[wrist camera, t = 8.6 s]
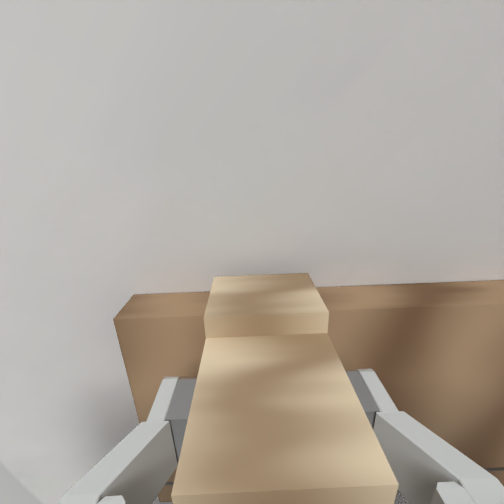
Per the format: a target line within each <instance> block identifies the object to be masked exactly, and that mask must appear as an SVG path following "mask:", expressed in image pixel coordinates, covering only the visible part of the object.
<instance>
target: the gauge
mask: <svg viewBox="0 0 504 504" xmlns="http://www.w3.org/2000/svg"><path fill="white" fill-rule="evenodd" d="M328 320H329V311H328V309H327V307H326V306H325V304H324V302H323V300H322V298H321V296H320V295H319V293H318V291H317V289H316V287H315V285H314V284H313V282H312V280H311V278H310V276H309V274H308V273H297V274H273V275H248V276H224V277H214V280H213V284H212V287H211V291H210V295H209V299H208V302H207V306H206V310H205V314H204V326H205V335H206V340H205V345H204V349H203V354H202V358H201V363H200V367H199V372H198V376H197V381H196V385H195V390H194V394H193V399H192V403H191V408H190V412H189V417H188V421H187V426H186V430H185V435H184V439H183V444H182V448H181V453H180V457H179V462H178V466H177V471H176V475H175V480H174V484H173V489H172V493H171V498H172V503H173V504H394V502H395V498H396V494H397V490H398V486H399V484H398V482H397V480H396V477H395V475H394V473H393V471H392V469H391V467H390V465H389V463H388V460H387V458H386V456H385V454H384V452H383V450H382V448H381V446H380V443H379V441H378V439H377V437H376V435H375V433H374V431H373V429H372V426H371V424H370V422H369V420H368V418H367V416H366V414H365V412H364V410H363V407H362V405H361V403H360V401H359V399H358V397H357V395H356V393H355V390H354V388H353V386H352V384H351V382H350V380H349V378H348V376H347V373H346V371H345V369H344V367H343V365H342V363H341V361H340V359H339V356H338V354H337V352H336V350H335V348H334V346H333V344H332V342H331V339H330V337H329V335H328Z"/></svg>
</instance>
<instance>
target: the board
mask: <svg viewBox="0 0 504 504" xmlns="http://www.w3.org/2000/svg"><path fill="white" fill-rule="evenodd" d="M316 289H317V291H318V293H319V295H320V296H321V298H322V300H323V302H324V304H325V306H326V307H327V309H328V311H329V320H328V335H329V337H330V339H331V342H332V344H333V346H334V348H335V350H336V352H337V354H338V356H339V359H340V361H341V363H342V365H343V367H344V369H345V370H352V369H355V370H356V369H372V370H374V371H375V373H376V375H377V376H378V378H379V380H380V381H381V383H382V384H383V386H384V388H385V389H386V391H387V393H388V394H389V396H390V398H391V399H392V401H393V402H394V404H395V406H396V407H397V409H398V411H404V412H405V413H407V414H408V415H410V416H411V417H412V418H414V419H415V420H417V421H418V422H419V423H421V424H422V425H424V426H425V427H426V428H428V429H429V430H430V431H432V432H433V433H435V434H436V435H437V436H439V437H440V438H442V439H443V440H444V441H446V442H447V443H449V444H450V445H451V446H453V447H454V448H456V449H457V450H458V451H460V452H461V453H463V454H464V455H465V456H467V457H468V458H469V459H471V460H472V461H474V462H475V463H476V464H478V465H479V466H481V467H482V468H483V469H485V470H486V471H488V472H489V473H490V474H492V475H493V476H495V477H496V478H497V479H498V480H499V481H500V483H501V484H502V485H503V486H504V280H491V281H466V282H441V283H416V284H391V285H365V286H340V287H316ZM209 295H210V292H190V293H165V294H140V295H133V296H132V297H131V299H130V300H129V301H128V302H127V303H126V305H125V306H124V307H123V308H122V309H121V311H120V312H119V313H118V314H117V315H116V317H115V318H114V319H113V321H114V325H115V328H116V332H117V336H118V340H119V344H120V348H121V352H122V356H123V360H124V364H125V368H126V372H127V375H128V379H129V383H130V387H131V391H132V395H133V399H134V403H135V407H136V411H137V415H138V419H139V422H140V423H141V422H146V421H147V418H148V415H149V413H150V410H151V408H152V405H153V403H154V400H155V397H156V395H157V392H158V390H159V387H160V385H161V382H162V380H163V379H164V378H165V377H172V376H198V372H199V367H200V363H201V358H202V354H203V349H204V345H205V340H206V335H205V326H204V314H205V310H206V306H207V302H208V299H209ZM176 471H177V468H176V469H175V470H174V472H173V473H172V475H171V476H170V478H169V479H168V481H167V482H166V484H165V485H164V486H163V488H162V489H161V491H160V492H159V494H158V497H159V501H160V502H171V501H172V498H171V493H172V489H173V484H174V480H175V475H176ZM397 492H398V490H397Z"/></svg>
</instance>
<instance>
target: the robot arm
mask: <svg viewBox="0 0 504 504" xmlns="http://www.w3.org/2000/svg"><path fill="white" fill-rule="evenodd" d="M345 371H346V373H347V376H348V378H349V380H350V382H351V384H352V386H353V388H354V390H355V393H356V395H357V397H358V399H359V401H360V403H361V405H362V407H363V410H364V412H365V414H366V416H367V418H368V420H369V422H370V424H371V426H372V429H373V431H374V433H375V435H376V437H377V439H378V441H379V443H380V446H381V448H382V450H383V452H384V454H385V456H386V458H387V460H388V463H389V465H390V467H391V469H392V471H393V473H394V475H395V477H396V480H397V482H398V484H399V486H398V491H399V492H400V493H401V494H402V495H403V496H404V497H405V499H406V500H407V501H408V502H409V503H410V504H504V486H503V485H502V484H501V483H500V481H499V480H498V479H497V478H496V477H495V476H493V475H492V474H490V473H489V472H488V471H486V470H485V469H483V468H482V467H481V466H479V465H478V464H476V463H475V462H474V461H472V460H471V459H469V458H468V457H467V456H465V455H464V454H463V453H461V452H460V451H458V450H457V449H456V448H454V447H453V446H451V445H450V444H449V443H447V442H446V441H444V440H443V439H442V438H440V437H439V436H437V435H436V434H435V433H433V432H432V431H430V430H429V429H428V428H426V427H425V426H424V425H422V424H421V423H419V422H418V421H417V420H415V419H414V418H412V417H411V416H410V415H408V414H407V413H405V412H404V411H398V409H397V407H396V406H395V404H394V402H393V401H392V399H391V398H390V396H389V394H388V393H387V391H386V389H385V388H384V386H383V384H382V383H381V381H380V380H379V378H378V376H377V375H376V373H375V371H374V370H372V369H356V370H355V369H352V370H345ZM196 381H197V376H172V377H165V378H164V379H163V380H162V382H161V385H160V387H159V390H158V392H157V395H156V397H155V400H154V403H153V405H152V408H151V410H150V413H149V415H148V418H147V421H146V422H141V423H140V424H139V425H138V426H137V427H135V428H134V429H133V430H132V431H131V432H130V433H129V434H128V435H127V436H126V437H125V438H124V439H123V440H122V441H120V442H119V443H118V444H117V445H116V446H115V447H114V448H113V449H112V450H111V451H110V452H109V453H108V454H107V455H106V456H104V457H103V458H102V459H101V460H100V461H99V462H98V463H97V464H96V465H95V466H94V467H93V468H92V469H91V470H90V471H88V472H87V473H86V474H85V475H84V476H83V477H82V478H81V479H80V480H79V481H78V482H77V483H76V484H75V485H74V486H72V487H71V488H70V489H69V490H68V491H67V492H66V493H65V494H64V495H63V496H62V498H61V499H60V501H59V503H58V504H152V503H153V501H154V500H155V498H156V497H157V495H158V494H159V492H160V491H161V489H162V488H163V486H164V485H165V484H166V482H167V481H168V479H169V478H170V476H171V475H172V473H173V472H174V470H175V469H176V468H177V466H178V462H179V457H180V453H181V448H182V444H183V439H184V435H185V430H186V426H187V421H188V417H189V412H190V408H191V403H192V399H193V394H194V390H195V385H196Z"/></svg>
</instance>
